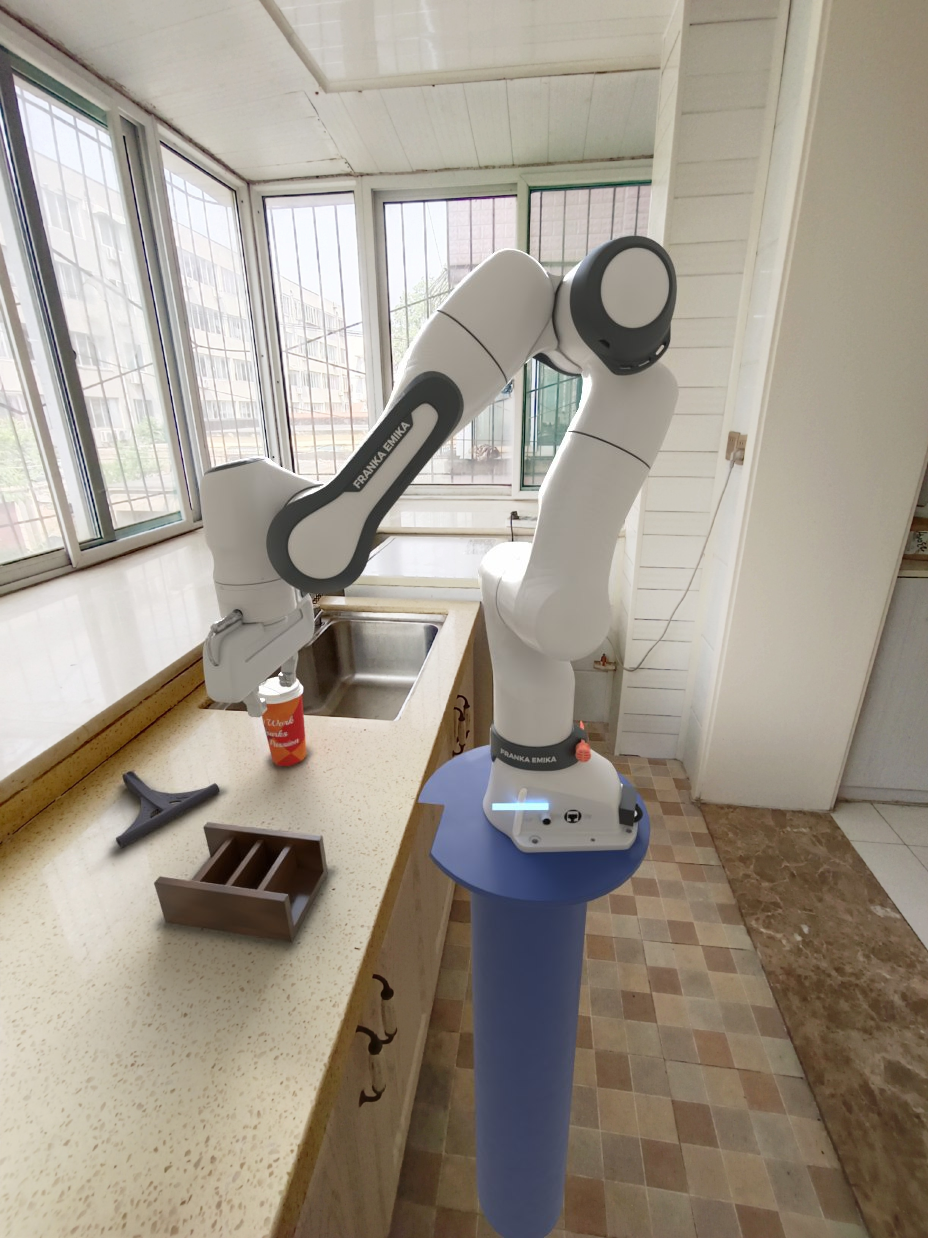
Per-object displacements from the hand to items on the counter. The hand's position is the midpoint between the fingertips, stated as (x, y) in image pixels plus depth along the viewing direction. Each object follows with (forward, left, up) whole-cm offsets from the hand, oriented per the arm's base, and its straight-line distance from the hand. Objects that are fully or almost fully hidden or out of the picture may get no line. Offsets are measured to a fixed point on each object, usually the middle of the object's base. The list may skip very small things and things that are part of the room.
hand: (274, 698), depth 70 cm
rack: (0, +12, -21) cm, 24 cm away
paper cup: (+9, -16, -21) cm, 28 cm away
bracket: (+25, -2, -21) cm, 33 cm away
